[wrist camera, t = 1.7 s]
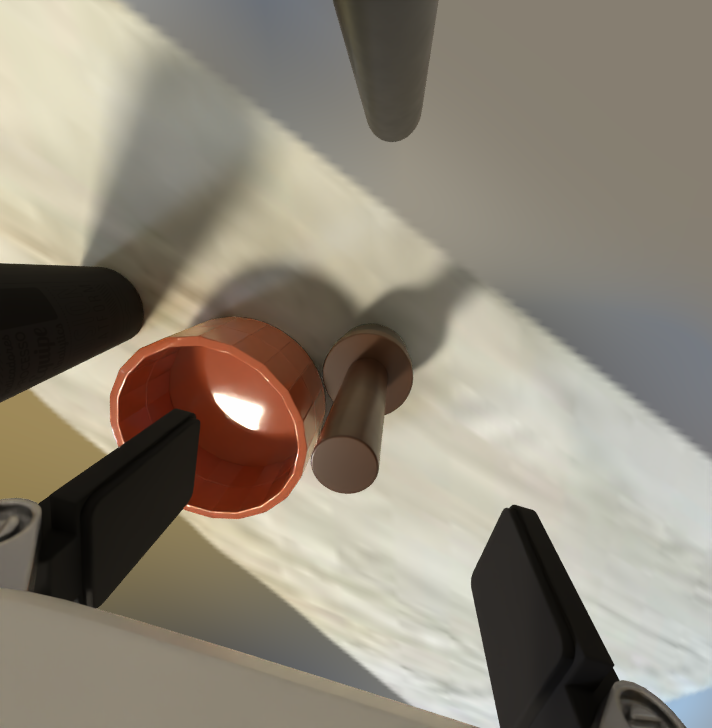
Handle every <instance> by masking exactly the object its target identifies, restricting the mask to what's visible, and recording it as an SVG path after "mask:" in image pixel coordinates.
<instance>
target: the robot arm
mask: <svg viewBox="0 0 712 728" xmlns="http://www.w3.org/2000/svg"><path fill="white" fill-rule="evenodd" d="M199 434H200V420H198V419H196V414H194V413H191V412H188V411H184V410H181V409H177V408H175V409H173V410H172V411H170V412H169V413H167V414H166V415H164V416H163V417H161V418H160V419H159V420H157V421H156V422H154V423H153V424H151V425H150V426H148V427H147V428H146V429H144V430H143V431H141V432H140V433H138V434H137V435H136V436H134V437H133V438H131V439H130V440H128V441H127V442H125V443H124V444H123V445H121V446H120V447H118V448H117V449H115V450H114V451H112V452H111V453H110V454H108V455H107V456H105V457H104V458H102V459H101V460H100V461H98V462H97V463H95V464H94V465H92V466H91V467H89V468H88V469H87V470H85V471H84V472H82V473H81V474H80V475H78V476H77V477H75V478H74V479H72V480H71V481H69V482H68V483H66V484H65V485H63V486H62V487H61V488H59V489H58V490H56V491H55V492H54V493H52V494H51V495H50V496H49V497H47V498H46V499H44V500H43V501H42V502H40V503H39V504H37V503H36V502H33V501H31V500H28V499H21V498H11V499H1V500H0V728H479V727H476V726H473V725H469V724H466V723H463V722H460V721H457V720H454V719H451V718H448V717H444V716H441V715H438V714H435V713H432V712H429V711H426V710H423V709H420V708H416V707H413V706H410V705H407V704H404V703H401V702H398V701H395V700H391V699H388V698H385V697H382V696H379V695H375V694H373V693H370V692H366V691H363V690H360V689H357V688H354V687H350V686H347V685H344V684H341V683H338V682H335V681H331V680H328V679H325V678H322V677H319V676H315V675H312V674H309V673H306V672H303V671H299V670H296V669H293V668H290V667H287V666H283V665H280V664H277V663H274V662H271V661H268V660H264V659H261V658H258V657H255V656H252V655H248V654H245V653H242V652H239V651H235V650H232V649H229V648H226V647H222V646H219V645H216V644H212V643H209V642H206V641H203V640H199V639H196V638H193V637H190V636H186V635H183V634H180V633H177V632H173V631H170V630H167V629H164V628H160V627H157V626H154V625H151V624H147V623H144V622H141V621H138V620H134V619H130V618H127V617H124V616H120V615H117V614H113V613H110V612H106V611H103V610H99V609H96V608H98V607H99V606H101V605H102V603H104V601H105V600H106V599H107V598H108V597H109V596H110V594H111V593H112V592H113V591H114V590H115V588H116V587H117V586H118V585H119V584H120V583H121V581H122V580H123V579H124V578H125V577H126V575H127V574H128V573H129V572H130V571H131V570H132V568H133V567H134V566H135V565H136V564H137V563H138V561H139V560H140V559H141V558H142V557H143V556H144V554H145V553H146V552H147V551H148V550H149V548H150V547H151V546H152V545H153V544H154V542H155V541H156V540H157V539H158V538H159V536H160V535H161V534H162V533H163V532H164V531H165V529H166V528H167V527H168V526H169V525H170V524H171V522H172V521H173V520H174V519H175V518H176V517H177V515H178V514H179V513H180V512H181V511H182V510H183V508H184V507H185V506H186V505H187V504H188V502H189V501H190V499H191V497H192V494H193V490H194V481H195V471H196V462H197V452H198V443H199ZM471 588H472V593H473V598H474V603H475V608H476V613H477V617H478V622H479V627H480V632H481V637H482V642H483V647H484V651H485V656H486V661H487V666H488V671H489V676H490V681H491V685H492V690H493V695H494V700H495V705H496V710H497V714H498V719H499V724H500V728H686V726H685V725H684V724H683V723H682V722H681V720H680V719H679V718H678V717H677V716H676V714H675V713H674V712H673V711H672V710H671V709H670V708H669V707H668V706H667V705H666V704H665V703H664V702H662V701H661V700H660V699H659V698H658V697H657V696H655V695H654V694H652V693H651V692H650V691H648V690H647V689H646V688H644V687H642V686H640V685H638V684H636V683H634V682H629V681H625V680H622V681H619V679H618V677H617V675H616V673H615V671H614V669H613V667H614V663H613V661H612V659H611V657H610V655H609V654H608V652H607V650H606V648H605V646H604V644H603V642H602V640H601V638H600V636H599V634H598V632H597V630H596V628H595V626H594V624H593V622H592V620H591V618H590V616H589V615H588V613H587V611H586V609H585V607H584V605H583V603H582V601H581V599H580V597H579V595H578V593H577V591H576V589H575V587H574V585H573V583H572V581H571V579H570V577H569V576H568V574H567V572H566V570H565V568H564V566H563V564H562V562H561V560H560V558H559V556H558V554H557V552H556V550H555V548H554V546H553V544H552V542H551V540H550V538H549V537H548V535H547V533H546V531H545V529H544V527H543V525H542V523H541V521H540V519H539V517H538V515H537V513H536V512H535V511H534V510H531V509H528V508H524V507H521V506H517V505H512V506H511V507H510V508H505V509H504V510H503V511H502V513H501V515H500V518H499V520H498V522H497V524H496V526H495V528H494V530H493V532H492V534H491V536H490V538H489V540H488V542H487V545H486V547H485V549H484V551H483V553H482V555H481V557H480V559H479V561H478V563H477V565H476V567H475V569H474V571H473V574H472V578H471Z"/></svg>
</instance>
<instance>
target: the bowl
mask: <svg viewBox="0 0 712 728" xmlns="http://www.w3.org/2000/svg"><path fill="white" fill-rule="evenodd" d="M175 408H177V409H181V410H184V411H188V412H191V413H194V414H196V419H198V420H200V434H199V443H198V452H197V462H196V471H195V481H194V490H193V494H192V497H191V499H190V501H189V502H188V504H187V505H186V506H185V507H184V508H183V509H185V510H187V511H190V512H193V513H197V514H200V515H204V516H207V517H211V518H228V519H241V518H245V517H249V516H253V515H256V514H260V513H264V512H266V511H268V510H269V509H271V508H272V507H274V506H275V505H277V504H278V503H280V502H281V501H283V500H284V499H286V498H287V497H288V496H289V494H290V493H291V491H292V490H293V488H294V487H295V485H296V484H297V483H298V481H299V480H300V478H301V476H302V474H303V472H304V470H305V467H306V465H307V463H308V460H309V458H310V456H311V453H312V451H313V449H314V446H315V444H316V442H317V439H318V437H319V435H320V431H321V427H322V424H323V421H324V416H325V393H324V388H323V384H322V380H321V378H320V375H319V373H318V371H317V369H316V367H315V365H314V363H313V362H312V360H311V359H310V357H309V356H308V355H307V353H306V352H305V351H304V350H303V348H302V347H301V346H300V345H299V344H298V343H297V342H296V341H294V340H293V339H292V338H291V337H290V336H288V335H287V334H285V333H284V332H282V331H281V330H279V329H278V328H276V327H273V326H271V325H269V324H267V323H264V322H261V321H259V320H255V319H250V318H245V317H222V318H217V319H211V320H208V321H206V322H203V323H201V324H198V325H196V326H193V327H191V328H188V329H186V330H183V331H181V332H178V333H176V334H173V335H171V336H168V337H166V338H163V339H161V340H159V341H156V342H154V343H152V344H149V345H147V346H145V347H142V348H140V349H139V350H138V351H137V352H136V353H135V354H134V355H133V356H132V357H131V358H130V359H129V360H128V361H127V362H126V363H125V364H124V365H123V366H122V367H121V368H120V370H119V372H118V375H117V378H116V380H115V383H114V386H113V388H112V391H111V394H110V422H111V426H112V429H113V432H114V435H115V438H116V441H117V444H118V447H120V446H121V445H123V444H124V443H125V442H127V441H128V440H130V439H131V438H133V437H134V436H136V435H137V434H138V433H140V432H141V431H143V430H144V429H146V428H147V427H148V426H150V425H151V424H153V423H154V422H156V421H157V420H159V419H160V418H161V417H163V416H164V415H166V414H167V413H169V412H170V411H172V410H173V409H175Z"/></svg>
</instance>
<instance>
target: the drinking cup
mask: <svg viewBox="0 0 712 728" xmlns="http://www.w3.org/2000/svg"><path fill="white" fill-rule="evenodd" d="M142 322H143V307H142V303H141V300H140V297H139V295H138V293H137V291H136V290H135V288H134V287H133V285H132V284H131V283H130V282H129V281H128V280H127V279H126V278H125V277H124V276H122V275H121V274H119V273H118V272H116V271H114V270H111V269H108V268H104V267H87V266H60V265H32V264H4V263H0V402H2V401H4V400H6V399H9V398H11V397H13V396H15V395H17V394H19V393H21V392H23V391H25V390H27V389H29V388H31V387H33V386H35V385H37V384H39V383H41V382H43V381H45V380H47V379H49V378H52V377H54V376H56V375H58V374H60V373H62V372H64V371H66V370H68V369H70V368H72V367H74V366H76V365H78V364H80V363H82V362H84V361H86V360H88V359H90V358H92V357H94V356H96V355H99V354H101V353H103V352H105V351H107V350H109V349H111V348H113V347H115V346H117V345H119V344H121V343H123V342H125V341H127V340H129V339H131V338H132V337H134V336H135V335H136V334H137V333H138V331H139V329H140V328H141V325H142Z"/></svg>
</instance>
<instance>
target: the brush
mask: <svg viewBox="0 0 712 728" xmlns="http://www.w3.org/2000/svg"><path fill="white" fill-rule="evenodd" d="M323 382H324V385H325V388H326V391H327V393H328V395H329V396H330V398H331V399H332V400H333V402H334V403H333V405H332V408H331V410H330V412H329V415H328V417H327V419H326V422H325V424H324V426H323V429H322V431H321V433H320V436H319V438H318V440H317V443H316V445H315V447H314V450H313V452H312V455H311V467H312V470H313V473H314V475H315V476H316V478H317V479H318V481H319V482H320V483H321V484H323V485H324V486H325V487H327V488H328V489H330V490H332V491H335V492H339V493H345V494H351V493H357V492H360V491H362V490H364V489H366V488H368V487H369V486H370V485H371V484H372V483H373V482H374V480H375V479H376V477H377V474H378V470H379V461H380V451H381V441H382V432H383V422H384V415H386V414H389V413H391V412H393V411H394V410H396V409H397V408H398V407H400V406H401V405H402V404H403V402H404V401H405V400H406V398H407V397H408V395H409V393H410V390H411V387H412V383H413V369H412V362H411V359H410V356H409V354H408V352H407V349H406V346H405V344H404V342H403V340H402V339H401V338H400V336H399V335H398V334H397V333H396V332H394V331H393V330H391V329H390V328H388V327H386V326H383V325H379V324H364V325H360V326H357V327H355V328H353V329H352V330H350V331H349V332H348V333H347V334H345V336H343V337H342V338H340V339H339V340H338V341H337V342H336V343H335V344H334V346H333V347H332V349H331V350H330V352H329V353H328V355H327V357H326V359H325V362H324V366H323Z"/></svg>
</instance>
